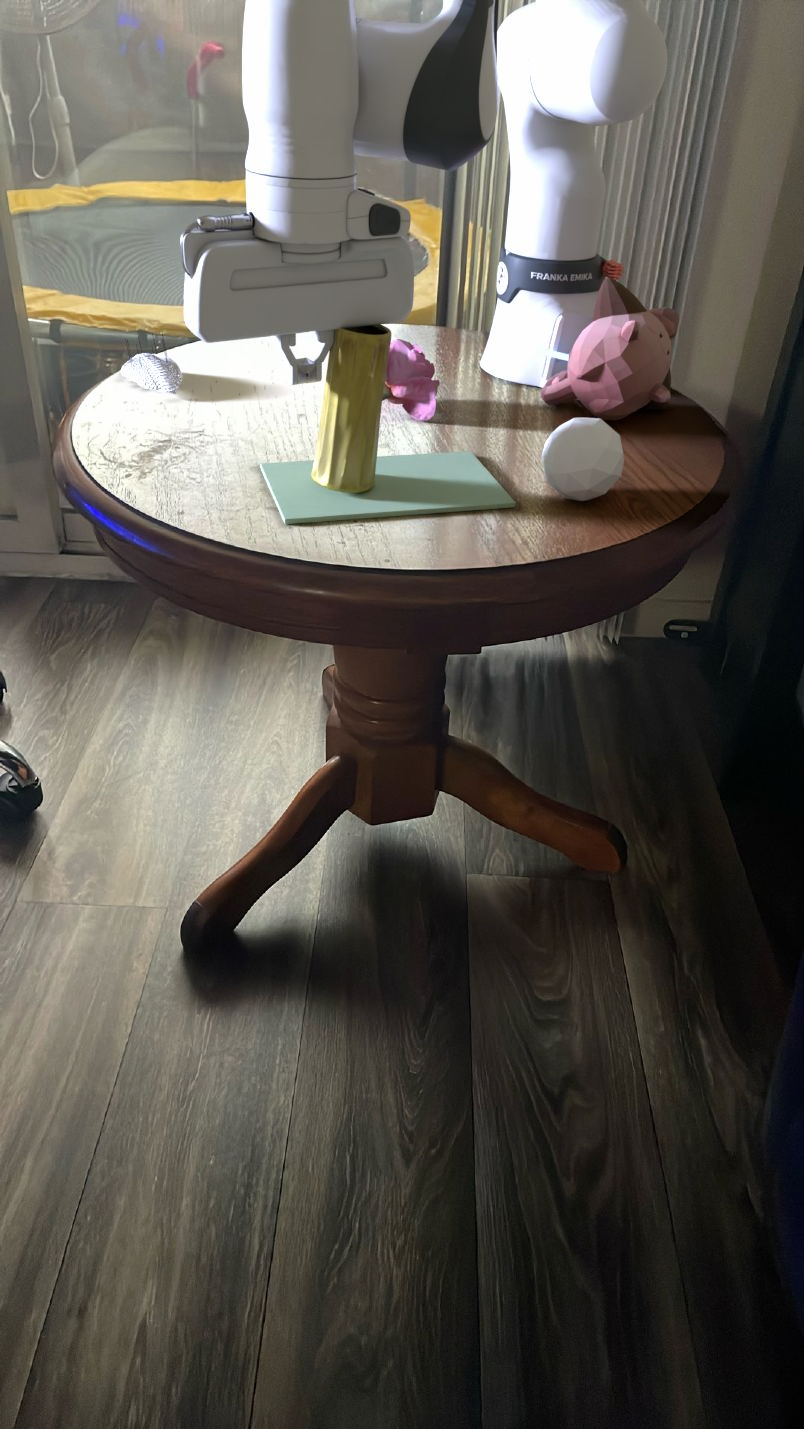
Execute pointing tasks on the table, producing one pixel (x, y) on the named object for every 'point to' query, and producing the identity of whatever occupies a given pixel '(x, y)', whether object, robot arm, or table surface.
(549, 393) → the toy
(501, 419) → the table surface
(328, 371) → the vase
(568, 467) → the geometric ball
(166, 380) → the pincushion
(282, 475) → the mat
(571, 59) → the robot arm
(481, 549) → the table surface
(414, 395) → the flower
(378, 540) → the table surface
